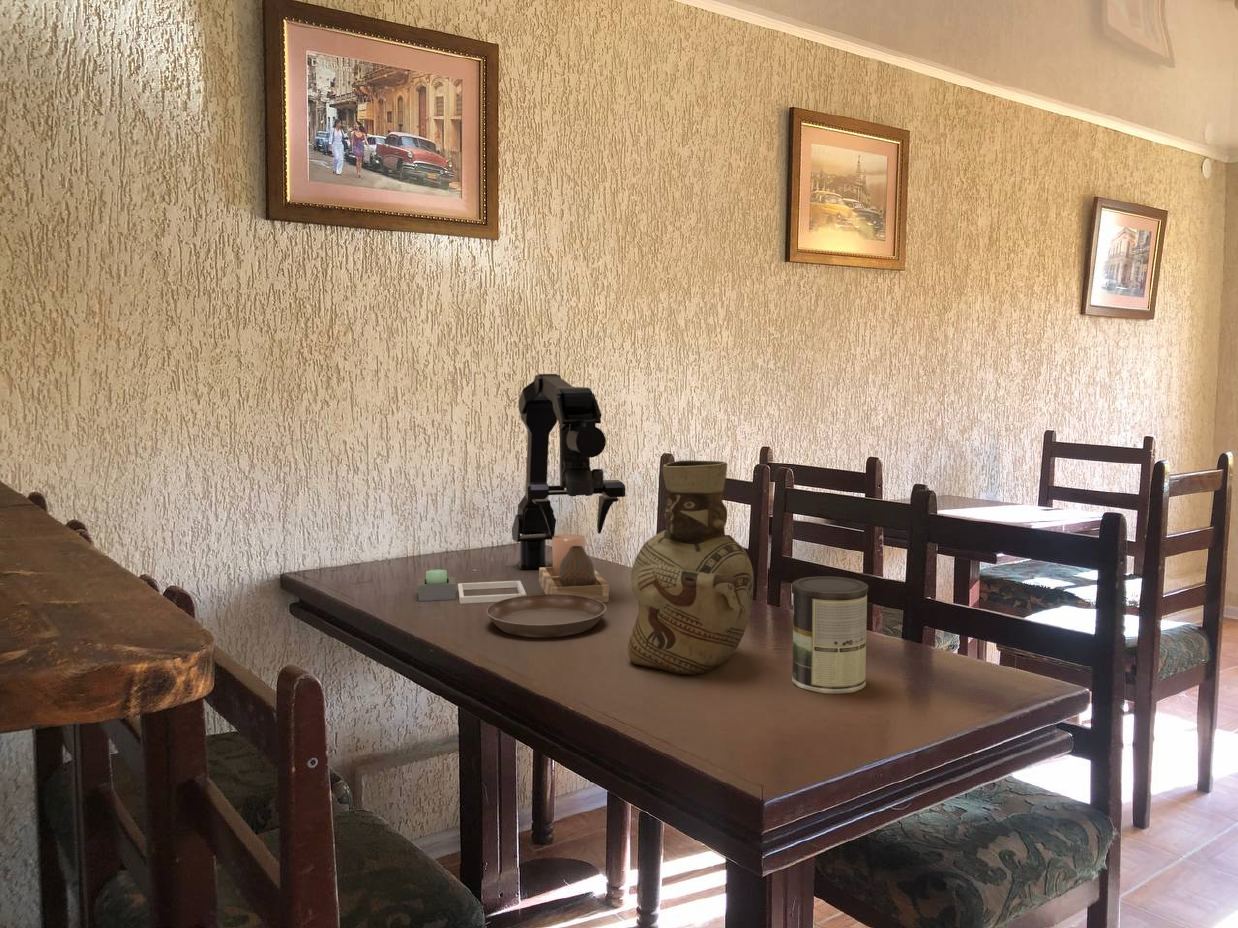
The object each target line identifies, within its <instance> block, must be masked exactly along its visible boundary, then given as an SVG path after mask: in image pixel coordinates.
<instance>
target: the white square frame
mask: <svg viewBox="0 0 1238 928" xmlns="http://www.w3.org/2000/svg"><path fill="white" fill-rule="evenodd" d="M511 588H513V589H514V588H516V589H517V592H518V593H510V594H509V593H507V594H506V593H505V594H502V593H501V594H486V595H485V594H484V595H464V591H467V590H468V591H469V590H493V589H511ZM457 593H458V600H459V604H460V605H462V604H463V605H464V604H465V605H466V604H479V603H481V604H482V603H496V602H498V601H502V600H505V599H509V598H513V597H519V596H526V595H527V593H526V590H525V588H524V586H523V584H522V581H521V580H506V581H505V580H504V581H486V582H481V581H480V582H463V583H460V582H459V583H457Z"/></svg>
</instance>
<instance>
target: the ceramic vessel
mask: <svg viewBox="0 0 1238 928" xmlns="http://www.w3.org/2000/svg"><path fill="white" fill-rule="evenodd" d="M727 471H728V463H727V462H726V461H717V460H692V459H691V460H687V459H686V460H677V461H672V462H668V463H664V464H663V466H662V474H663V480H664V486H665V488H666V491H667V496H666V500H665V513H664V519H665V522H666V528H667V529H664V530H663V531H660V532H659V533H657V534H655V535H653V536H652V537H650V538H649V539H647V540H646V541H645V542H644V543H643V545H642V546H641V548H640V549H639V551H638V554H636V555H637V556H636V557H635V559H634V561H633V564H632V568H631V572H630V581H631V582H630V583H631V584H630V585H631V591H632V593H633V595H634V597H635V598H636V599H637V601H638V602H637V603H638V612H637V617H636V619H635V623H634V625H633V628H632V631H631V634H630V636H629V640H628V644H627V654H628V657H629V659H630V661H631V662H632V663H633V664H635V665H638V666H641V667H645V668H647V669H648V668H651V669H657V670H661V671H666V672H669V673H672V674H675V675H676V674H677V675H682V676H683V675H685V676H697V675H701V674H705V673H708V672H710V671H712V670H714V669H715V668H719V667H720V666H722V665H724V664H725V663H726V662H728V660H729V659H730V658H731V657H732V656H733V655H734V653H735V651H736V650H737V648H738V647H739V645H740V643H741V642H742V639H743V637H744V634H745V631H746V628H747V625H748V624H749V619H750V614H751V611H752V606H753V598H754V597H753V595H754V591H753V590H754V570H753V566H752V562H751V560H750V557H749V555H748V553H747V551H746V550H745V548H743V546H742V545H741V544H740V543H739V542H738V541H736V540H735V538H733V537H732V535H731V534H725V526H726V523H727V520H728V509H727V507H726V505H725V504H724V502H723V492H724V489H725V483H726V479H727Z"/></svg>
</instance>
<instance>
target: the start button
mask: <svg viewBox="0 0 1238 928" xmlns="http://www.w3.org/2000/svg"><path fill="white" fill-rule="evenodd" d="M447 577H448V570H446V569H439V568H438V569H430V570H429V569H428V570H426V571H425V578H426V584H440V583H447Z"/></svg>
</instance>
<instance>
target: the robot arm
mask: <svg viewBox="0 0 1238 928" xmlns="http://www.w3.org/2000/svg"><path fill="white" fill-rule="evenodd" d="M518 411H519V413H520V420H521V421H522V423H523V425H524V426H525V428H526V430H527V448H526V449H527V450H526V472H525V473H526V476H525V486H524V487H525V488H524V496H523V497H522V499H521V500H520V502H519V503H518V505H517V512H516V513H517V514H515V516H514V518H513V519H514V521H513V524H512V528H511V535H512V536H511V539H512V540H513V541H514V542H516V543H519V545H520V546H519V549H520V554H519V555H520V561H517V566H518V568H519V570H537V569H538V570H539V568H540V567H550V565H549V563H548V562H547V553H546V552H547V545H546V543H547V540H550V541H552V537H553V536H555V532H556V531H555V530H556V524H557V518H556V517H555V514H554V511H555V510H554V508H553V507H552V505H551V500H550V499H549V496H560V495H561V496H564V495H567V496H569V497H577V496H585V497H590V496H593V495H595V494H597V495H598V508H597V525H596V527H597V533H598V534H601V533H602V530H603V527H604V525H605V520H606V518H607V516H608V515H607V514H608V512H609V510H610V508H611V506H612V505H613V504H614V502H619V498H624V497H626V485H625V484H624V482H623V481H620V479H605V480H604V470H603V469H602V468H593V469H591V465H590V463H591V461H590V460H591V459H590V458H596V457H598V456H600V454H602V453H603V451H604V450H605V447H606V445H607V443H606V442H607V439H606V438H607V437H606V436H605V434H604V431H602V430H601V429H600V428H599V427H597V426H596V424H601V423H602V420H601V418H602V415H603V414H602V412H601V409H600V407H599V403H598V400H597V399H596V396H595V394H594V393H593V391H592V389H591V388H590V387H586V386H585V387H584V386H583V387H582V386H573V385H571V384H570V383H568V382H567V381H566V380H564V379H563V378H562V377H561V375H560V374H558V373H539V374H538V375H537V374H536V375H535V377H534V379H533V381H532V382H531V383H529V384H528V385H527V386H525V387H524V388H523V389H522V391H521V394H520V397H519V400H518ZM557 423H558V428H559V485H549V484H548V464H549V441H550V440H549V439H550V438H549V437H550V433H551V432H552V431H553V429H554V428H555V426H556V425H557ZM599 494H601V495H599Z"/></svg>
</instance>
